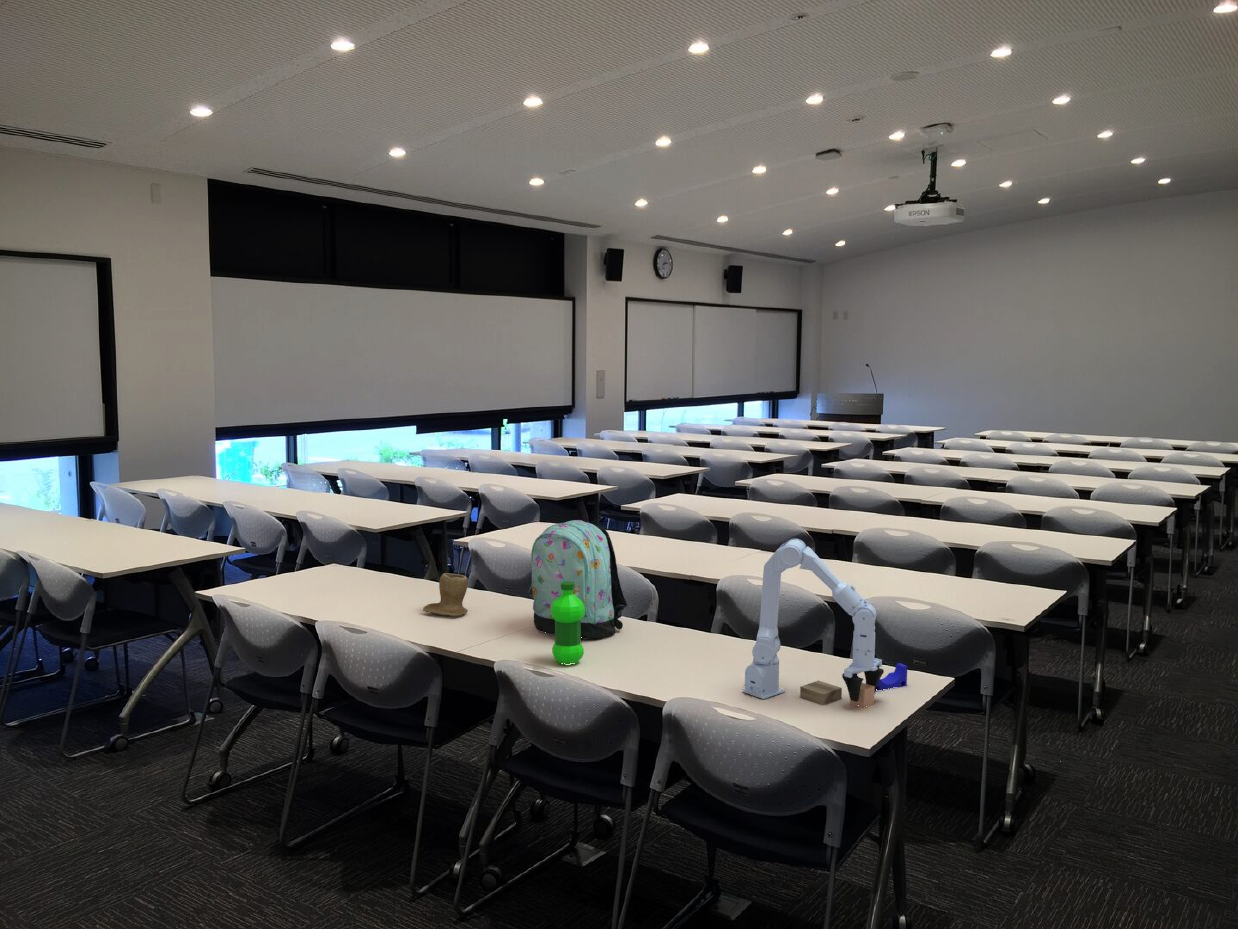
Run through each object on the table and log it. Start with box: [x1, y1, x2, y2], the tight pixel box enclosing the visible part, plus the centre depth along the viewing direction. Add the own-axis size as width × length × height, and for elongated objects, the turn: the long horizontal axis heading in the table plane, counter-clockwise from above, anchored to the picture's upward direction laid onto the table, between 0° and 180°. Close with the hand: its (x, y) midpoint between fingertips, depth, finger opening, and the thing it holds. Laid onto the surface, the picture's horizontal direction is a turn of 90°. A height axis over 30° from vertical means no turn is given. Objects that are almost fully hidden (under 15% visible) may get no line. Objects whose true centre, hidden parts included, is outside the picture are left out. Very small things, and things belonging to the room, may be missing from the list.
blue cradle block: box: [876, 662, 908, 691], centre depth 271 cm, size 12×4×6 cm, turn 115°
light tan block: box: [849, 682, 875, 708], centre depth 257 cm, size 4×4×5 cm
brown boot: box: [422, 572, 469, 617], centre depth 346 cm, size 15×12×15 cm
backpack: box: [527, 519, 628, 640], centre depth 321 cm, size 32×24×39 cm
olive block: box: [799, 680, 843, 706], centre depth 262 cm, size 8×8×3 cm
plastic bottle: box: [551, 582, 585, 664], centre depth 290 cm, size 10×10×25 cm
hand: (862, 697), depth 257 cm, fingers open, 7 cm apart
